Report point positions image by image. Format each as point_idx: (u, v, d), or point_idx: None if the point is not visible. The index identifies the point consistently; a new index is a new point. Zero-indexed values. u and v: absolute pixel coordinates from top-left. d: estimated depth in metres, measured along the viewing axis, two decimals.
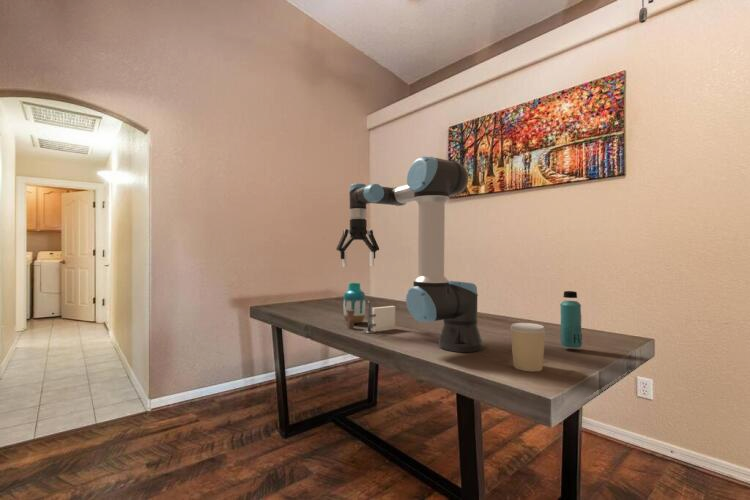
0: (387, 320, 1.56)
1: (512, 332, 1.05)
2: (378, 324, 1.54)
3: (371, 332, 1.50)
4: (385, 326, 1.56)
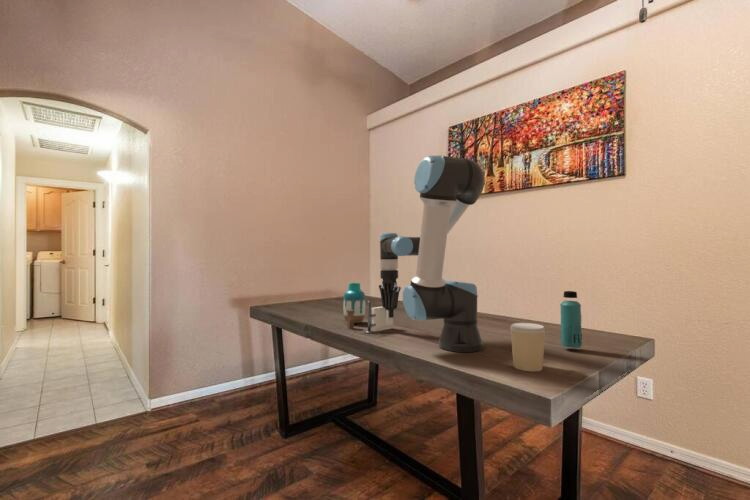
0: None
1: (512, 332, 1.05)
2: (377, 324, 1.54)
3: (371, 332, 1.50)
4: (384, 326, 1.56)
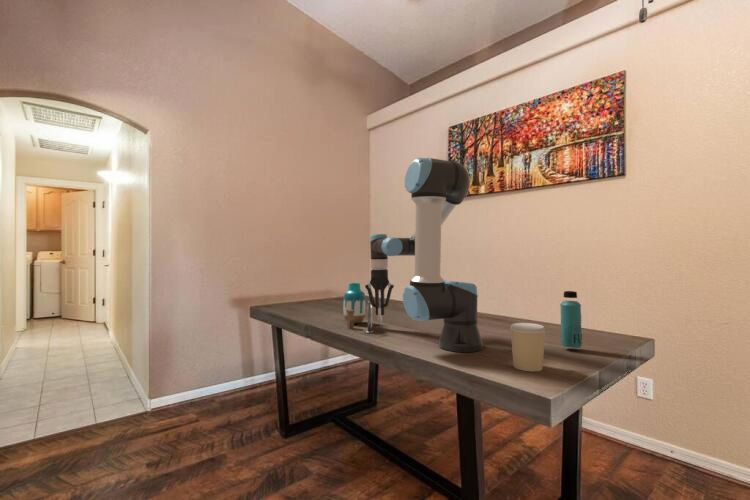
0: None
1: (512, 332, 1.05)
2: None
3: (371, 332, 1.50)
4: (371, 324, 1.60)
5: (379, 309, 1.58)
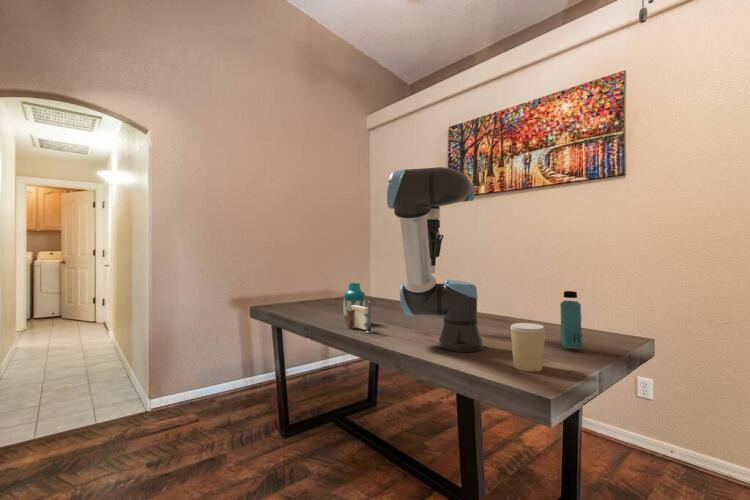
0: None
1: (512, 332, 1.05)
2: None
3: (371, 332, 1.50)
4: None
5: None
